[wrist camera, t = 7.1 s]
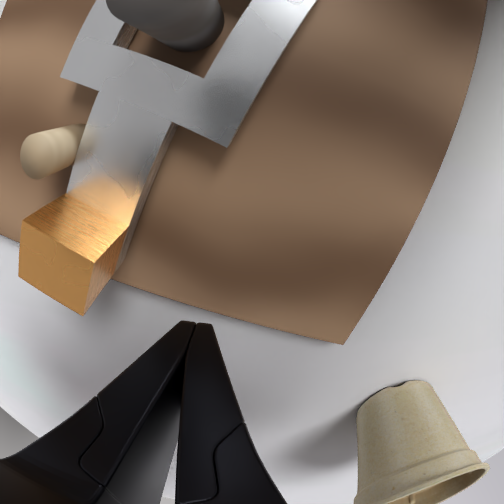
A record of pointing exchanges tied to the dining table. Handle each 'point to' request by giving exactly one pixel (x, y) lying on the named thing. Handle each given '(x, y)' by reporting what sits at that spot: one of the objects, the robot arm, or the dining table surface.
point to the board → (257, 150)
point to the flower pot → (411, 449)
